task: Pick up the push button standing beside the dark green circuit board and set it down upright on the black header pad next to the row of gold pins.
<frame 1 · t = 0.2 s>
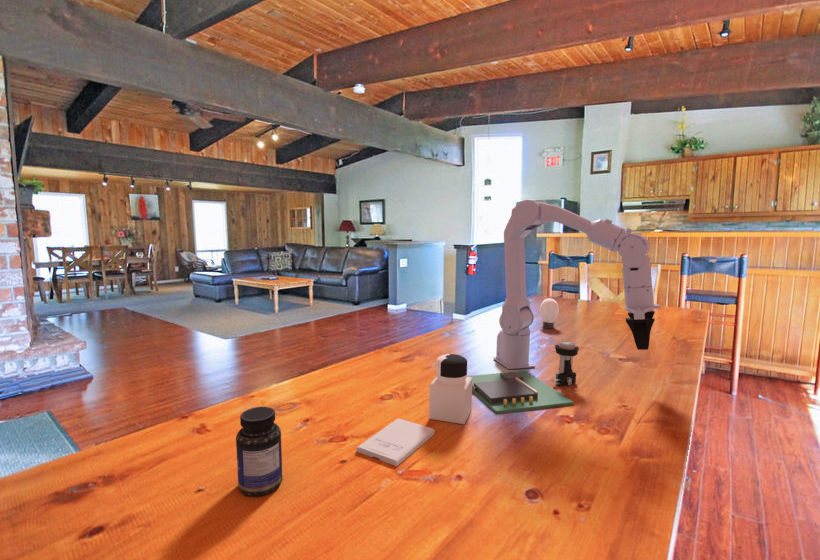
hand: (643, 345, 98), 11 cm above the table, tool pointing down, fingers open, 7 cm apart
medicine bottle: (450, 415, 86), on the table
push button: (562, 384, 102), on the table
external hard drive: (396, 446, 75), on the table
light bulb: (548, 328, 159), on the table
pill bottle: (261, 486, 62), on the table
circuit board: (512, 390, 98), on the table
header pad: (504, 393, 95), resting on circuit board
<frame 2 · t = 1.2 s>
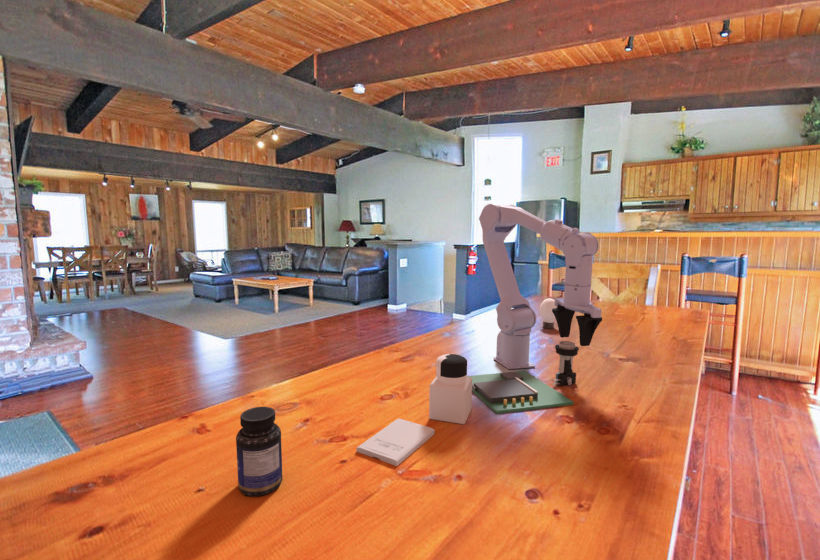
hand: (574, 341, 102), 10 cm above the table, tool pointing down, fingers open, 7 cm apart
nothing on the table moved.
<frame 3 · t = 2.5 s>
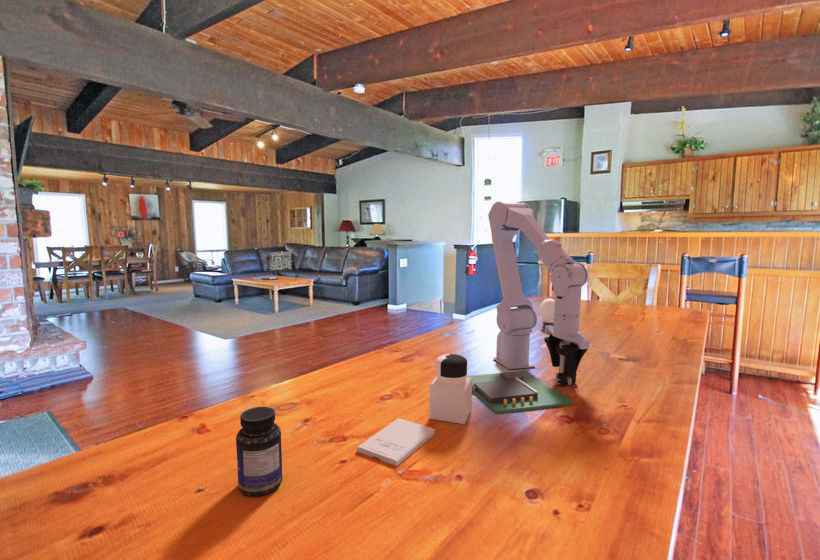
hand: (563, 370, 102), 3 cm above the table, tool pointing down, fingers closed on push button, 5 cm apart
push button: (562, 384, 102), on the table, touching gripper
everything else where it was.
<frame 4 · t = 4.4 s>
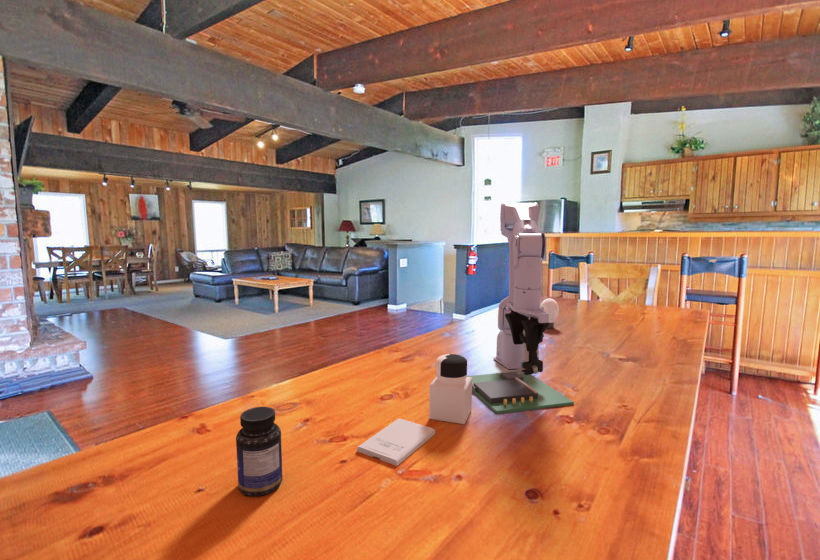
hand: (524, 347, 96), 10 cm above the table, tool pointing down, fingers closed on push button, 5 cm apart
push button: (529, 373, 97), point 4 cm above the table, touching gripper
everything else where it was.
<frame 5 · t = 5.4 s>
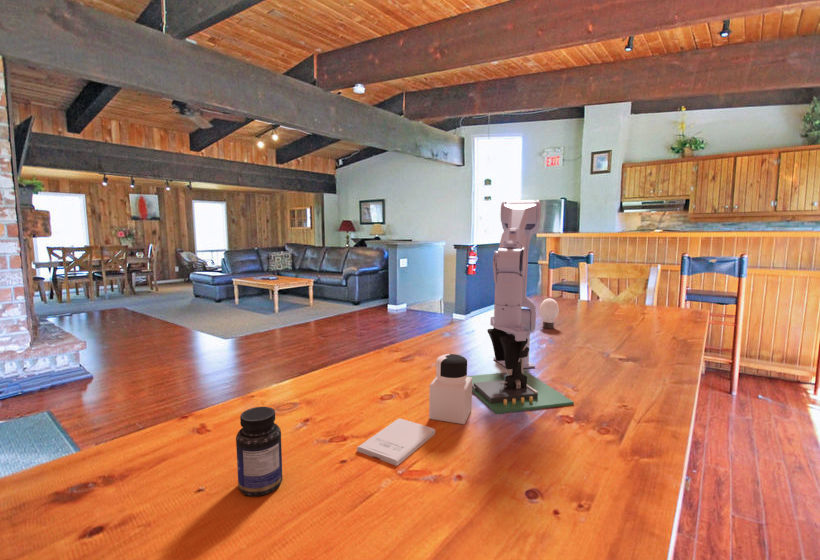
hand: (505, 364, 94), 7 cm above the table, tool pointing down, fingers closed on push button, 5 cm apart
push button: (512, 387, 95), point 2 cm above the table, touching gripper, header pad
everything else where it was.
when the fingers open (6 cm above the table, at t = 6.2 s): push button stays where it is, resting on header pad.
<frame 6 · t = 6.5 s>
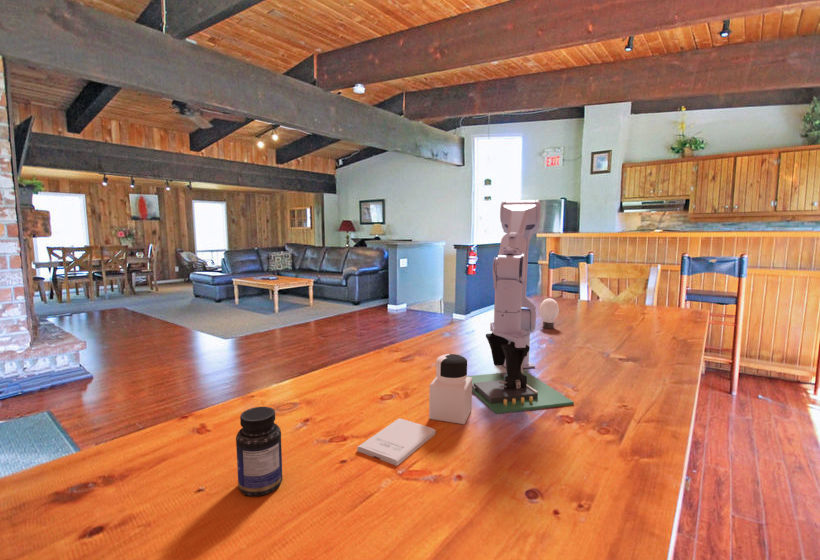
hand: (505, 370, 94), 6 cm above the table, tool pointing down, fingers open, 7 cm apart
push button: (512, 388, 95), point 2 cm above the table, touching header pad
everything else where it was.
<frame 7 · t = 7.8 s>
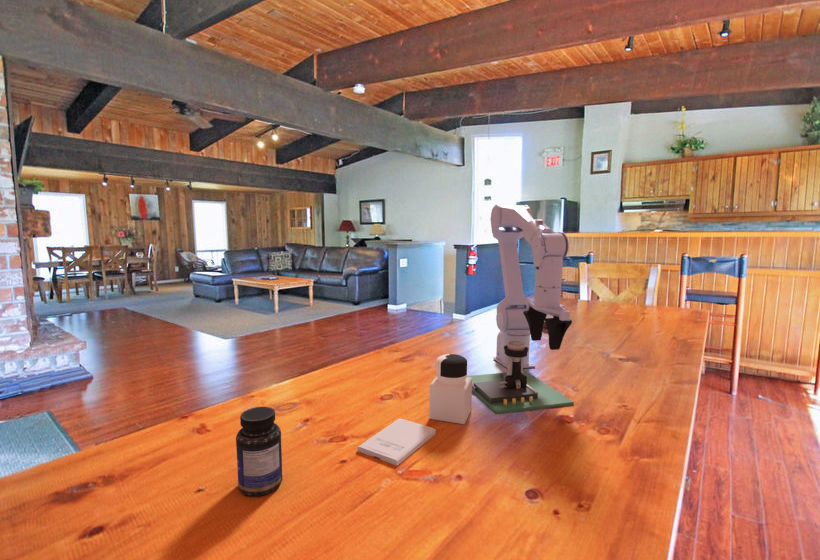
hand: (545, 344, 99), 10 cm above the table, tool pointing down, fingers open, 7 cm apart
nothing on the table moved.
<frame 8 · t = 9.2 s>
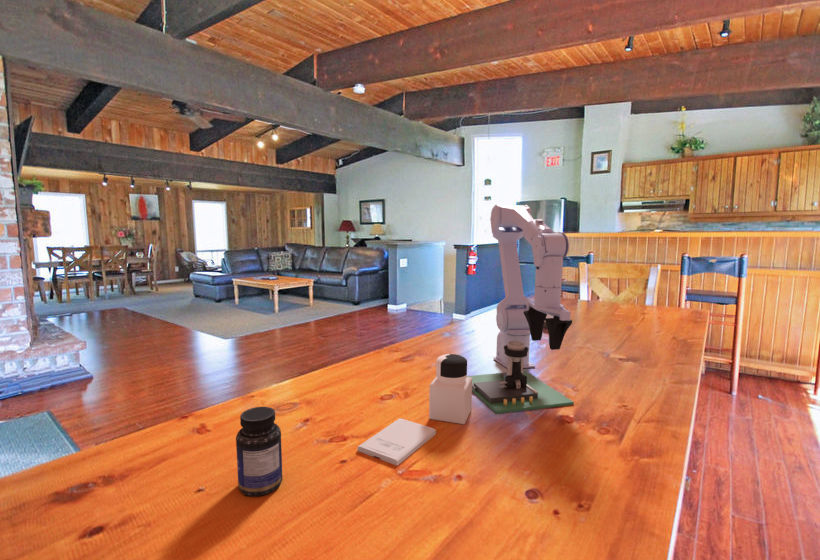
hand: (545, 344, 99), 10 cm above the table, tool pointing down, fingers open, 7 cm apart
nothing on the table moved.
at the end: push button inside the target area (1.7 cm from its centre), point 1.6 cm above the table; push button tilted 0°; the gripper is holding nothing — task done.
